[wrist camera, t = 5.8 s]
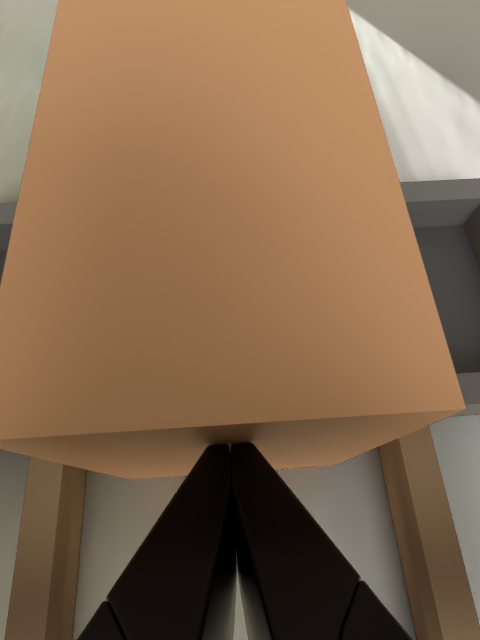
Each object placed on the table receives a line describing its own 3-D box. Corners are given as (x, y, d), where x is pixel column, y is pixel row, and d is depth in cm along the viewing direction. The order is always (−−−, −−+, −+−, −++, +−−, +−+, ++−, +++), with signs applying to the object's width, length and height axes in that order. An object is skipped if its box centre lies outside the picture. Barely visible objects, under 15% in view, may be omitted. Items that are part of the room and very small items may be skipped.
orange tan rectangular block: (334, 465, 14) (466, 408, 6) (129, 479, 14) (-31, 442, 6) (285, 146, 20) (316, -99, 12) (143, 153, 20) (77, -91, 12)
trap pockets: (551, 409, 15) (596, 395, 13) (-102, 454, 14) (-154, 446, 12) (475, 209, 18) (501, 177, 17) (-45, 238, 18) (-77, 207, 16)
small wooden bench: (498, 846, 10) (642, 1035, 6) (9, 894, 10) (-128, 1124, 6) (328, 101, 21) (346, 18, 18) (96, 111, 21) (66, 29, 17)
